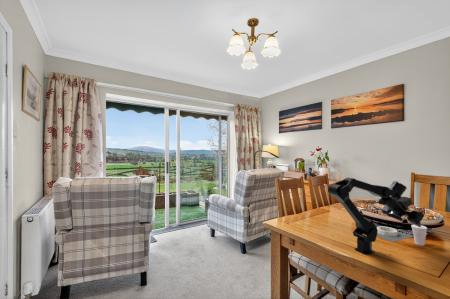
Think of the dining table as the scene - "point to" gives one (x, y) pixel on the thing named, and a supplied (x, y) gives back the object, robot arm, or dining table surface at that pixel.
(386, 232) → the collar
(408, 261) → the dining table surface
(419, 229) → the smoothie
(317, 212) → the dining table surface
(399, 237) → the mat
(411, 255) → the dining table surface
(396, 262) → the dining table surface
